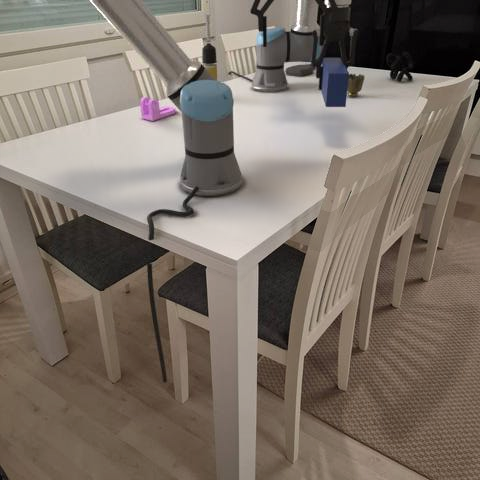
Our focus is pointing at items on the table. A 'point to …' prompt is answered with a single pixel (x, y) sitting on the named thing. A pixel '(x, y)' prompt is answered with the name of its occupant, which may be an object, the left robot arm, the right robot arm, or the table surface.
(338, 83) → the bar
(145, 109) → the bracket
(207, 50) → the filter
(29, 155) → the table surface
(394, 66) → the squiggle
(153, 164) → the table surface
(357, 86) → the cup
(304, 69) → the dark grey paddle
